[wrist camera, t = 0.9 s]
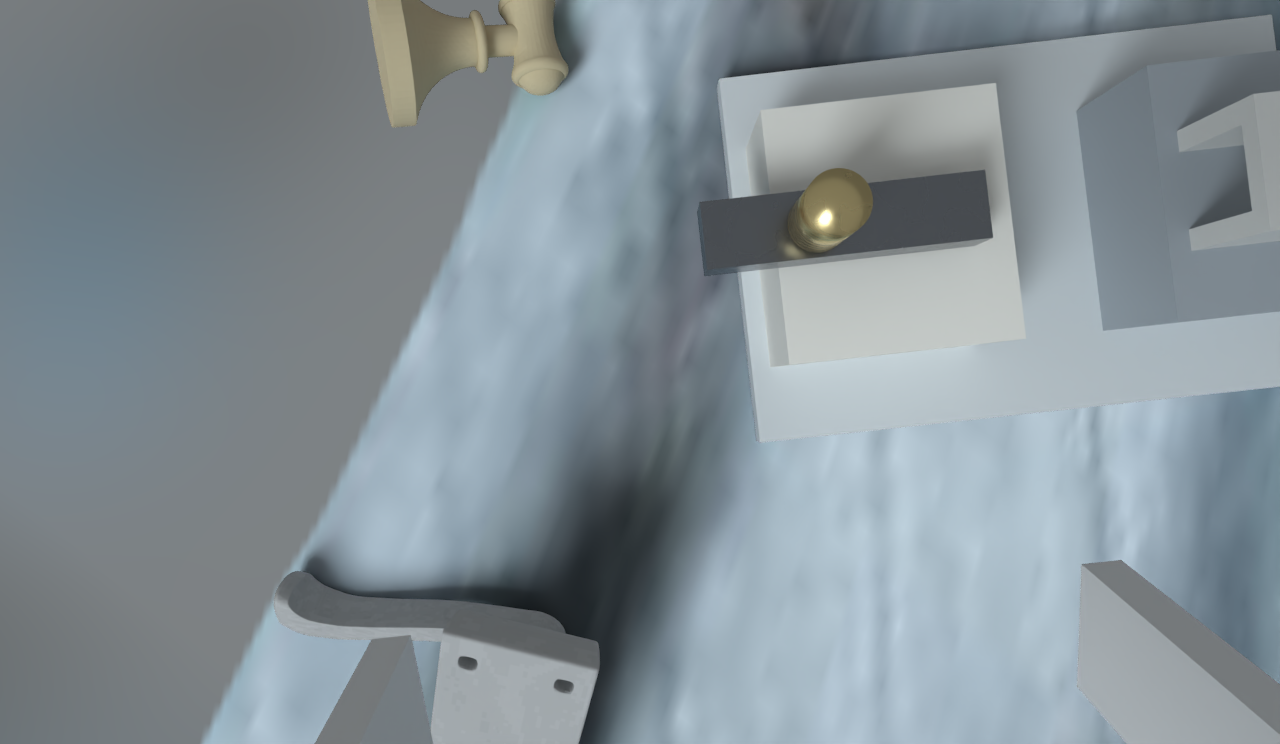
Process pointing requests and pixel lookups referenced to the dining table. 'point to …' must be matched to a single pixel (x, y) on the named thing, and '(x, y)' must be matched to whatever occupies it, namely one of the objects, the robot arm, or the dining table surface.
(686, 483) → the dining table surface
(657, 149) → the dining table surface
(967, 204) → the bolt
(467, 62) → the door knob
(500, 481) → the dining table surface
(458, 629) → the door handle
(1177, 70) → the white stepped platform
